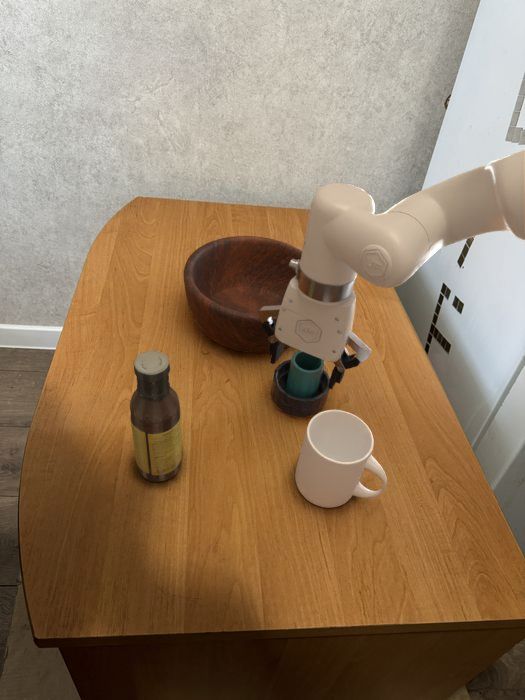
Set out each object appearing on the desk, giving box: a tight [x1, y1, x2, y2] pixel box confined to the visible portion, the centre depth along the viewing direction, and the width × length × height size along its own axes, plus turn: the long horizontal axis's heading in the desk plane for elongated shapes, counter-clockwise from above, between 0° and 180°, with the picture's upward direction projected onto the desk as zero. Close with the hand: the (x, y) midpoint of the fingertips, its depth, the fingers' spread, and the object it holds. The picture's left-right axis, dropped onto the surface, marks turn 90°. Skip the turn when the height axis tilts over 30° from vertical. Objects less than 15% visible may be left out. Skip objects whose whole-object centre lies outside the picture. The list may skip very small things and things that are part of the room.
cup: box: [285, 350, 325, 398], centre depth 82 cm, size 5×5×8 cm
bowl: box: [269, 358, 331, 419], centre depth 84 cm, size 9×9×4 cm
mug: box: [294, 409, 388, 508], centre depth 70 cm, size 9×12×11 cm
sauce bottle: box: [129, 350, 183, 483], centre depth 67 cm, size 6×6×20 cm
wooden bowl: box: [183, 235, 303, 354], centre depth 95 cm, size 25×25×10 cm
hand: (304, 370), depth 81 cm, fingers open, 9 cm apart
